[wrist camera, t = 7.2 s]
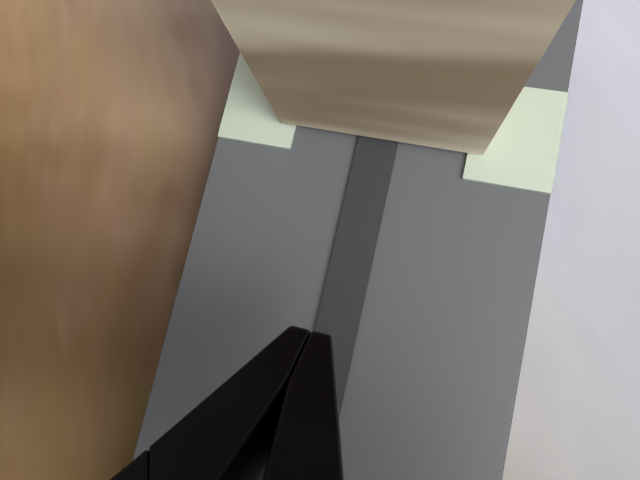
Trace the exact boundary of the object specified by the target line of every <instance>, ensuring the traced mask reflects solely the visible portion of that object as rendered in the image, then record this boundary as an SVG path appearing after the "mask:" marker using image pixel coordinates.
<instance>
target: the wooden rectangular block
mask: <svg viewBox="0 0 640 480" xmlns="http://www.w3.org/2000/svg"><path fill="white" fill-rule="evenodd" d="M575 1H576V0H211V2H212V4H213V5H214V7H215V9H216V11H217V12H218V14H219V16H220V18H221V19H222V21H223V23H224V25H225V26H226V28H227V30H228V32H229V33H230V35H231V37H232V38H233V40H234V42H235V44H236V45H237V47H238V49H239V51H240V52H241V54H242V56H243V58H244V59H245V61H246V63H247V65H248V66H249V68H250V70H251V72H252V73H253V75H254V77H255V79H256V80H257V82H258V84H259V85H260V87H261V89H262V91H263V92H264V94H265V96H266V98H267V99H268V101H269V103H270V105H271V106H272V108H273V110H274V112H275V113H276V115H277V117H278V119H279V120H280V122H281V123H285V124H291V125H297V126H304V127H310V128H316V129H322V130H328V131H335V132H341V133H347V134H353V135H359V136H366V137H372V138H378V139H384V140H390V141H397V142H403V143H409V144H415V145H422V146H428V147H434V148H440V149H446V150H453V151H459V152H465V153H471V154H477V155H483V154H484V153H485V151H486V149H487V148H488V146H489V144H490V143H491V141H492V139H493V138H494V136H495V134H496V133H497V131H498V129H499V128H500V126H501V124H502V123H503V121H504V119H505V118H506V116H507V114H508V113H509V111H510V109H511V108H512V106H513V104H514V103H515V101H516V99H517V98H518V96H519V94H520V93H521V91H522V89H523V88H524V86H525V84H526V83H527V81H528V79H529V78H530V76H531V74H532V73H533V71H534V69H535V68H536V66H537V64H538V63H539V61H540V59H541V58H542V56H543V54H544V53H545V51H546V49H547V48H548V46H549V44H550V43H551V41H552V39H553V38H554V36H555V34H556V33H557V31H558V29H559V27H560V26H561V24H562V22H563V21H564V19H565V17H566V16H567V14H568V12H569V11H570V9H571V7H572V6H573V4H574V2H575Z"/></svg>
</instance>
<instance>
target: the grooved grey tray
mask: <svg viewBox="0 0 640 480" xmlns="http://www.w3.org/2000/svg"><path fill="white" fill-rule="evenodd" d="M582 4H583V0H576V1H575V2H574V4H573V6H572V7H571V9H570V11H569V12H568V14H567V16H566V17H565V19H564V21H563V22H562V24H561V26H560V27H559V29H558V31H557V33H556V34H555V36H554V38H553V39H552V41H551V43H550V44H549V46H548V48H547V49H546V51H545V53H544V54H543V56H542V58H541V59H540V61H539V63H538V64H537V66H536V68H535V69H534V71H533V73H532V74H531V76H530V78H529V79H528V81H527V83H526V84H525V86H524V88H523V89H522V91H521V93H520V94H519V96H518V98H517V99H516V101H515V103H514V104H513V106H512V108H511V109H510V111H509V113H508V114H507V116H506V118H505V119H504V121H503V123H502V124H501V126H500V128H499V129H498V131H497V133H496V134H495V136H494V138H493V139H492V141H491V143H490V144H489V146H488V148H487V149H486V151H485V153H484V154H483V155H477V154H471V153H465V152H459V151H453V150H446V149H440V148H434V147H428V146H422V145H415V144H409V143H403V142H397V141H390V140H384V139H378V138H372V137H366V136H359V135H353V134H347V133H341V132H335V131H328V130H322V129H316V128H310V127H304V126H297V125H291V124H285V123H281V122H280V120H279V119H278V117H277V115H276V113H275V112H274V110H273V108H272V106H271V105H270V103H269V101H268V99H267V98H266V96H265V94H264V92H263V91H262V89H261V87H260V85H259V84H258V82H257V80H256V79H255V77H254V75H253V73H252V72H251V70H250V68H249V66H248V65H247V63H246V61H245V59H244V58H243V56H242V54H241V52H240V53H239V57H238V61H237V65H236V68H235V72H234V76H233V80H232V83H231V87H230V91H229V95H228V98H227V102H226V106H225V110H224V113H223V117H222V121H221V125H220V128H219V132H218V137H219V138H218V142H217V145H216V149H215V153H214V157H213V160H212V164H211V168H210V172H209V175H208V179H207V183H206V187H205V190H204V194H203V198H202V202H201V205H200V209H199V213H198V217H197V220H196V224H195V228H194V232H193V235H192V239H191V243H190V247H189V250H188V254H187V258H186V262H185V266H184V269H183V273H182V277H181V281H180V284H179V288H178V292H177V296H176V299H175V303H174V307H173V311H172V314H171V318H170V322H169V326H168V329H167V333H166V337H165V341H164V344H163V348H162V352H161V356H160V359H159V363H158V367H157V371H156V374H155V378H154V382H153V386H152V389H151V393H150V397H149V401H148V405H147V408H146V412H145V416H144V420H143V423H142V427H141V431H140V435H139V438H138V442H137V446H136V450H135V453H134V457H133V460H134V459H135V458H136V457H138V456H139V455H140V454H141V453H142V452H143V451H145V450H148V451H149V447H150V446H151V445H152V444H153V443H154V442H155V441H157V440H158V439H159V438H160V437H161V436H162V435H164V434H165V433H166V432H167V431H168V430H169V429H171V428H172V427H173V426H174V425H175V424H176V423H177V422H179V421H180V420H181V419H182V418H183V417H184V416H186V415H187V414H188V413H189V412H190V411H191V410H193V409H194V408H195V407H196V406H197V405H198V404H200V403H201V402H202V401H203V400H204V399H205V398H207V397H208V396H209V395H210V394H211V393H212V392H214V391H215V390H216V389H217V388H218V387H219V386H221V385H222V384H223V383H224V382H225V381H226V380H228V379H229V378H230V377H231V376H232V375H233V374H234V373H236V372H237V371H238V370H239V369H240V368H241V367H243V366H244V365H245V364H246V363H247V362H248V361H250V360H251V359H252V358H253V357H254V356H255V355H257V354H258V353H259V352H260V351H261V350H262V349H264V348H265V347H266V346H267V345H268V344H269V343H271V342H272V341H273V340H274V339H275V338H276V337H278V336H279V335H280V334H281V333H282V332H283V331H285V330H286V329H287V328H288V327H290V326H297V327H301V328H305V329H308V330H309V331H310V332H312V331H317V332H321V333H325V334H329V335H330V336H331V337H332V344H333V356H334V367H335V379H336V390H337V402H338V414H339V425H340V437H341V449H342V460H343V472H344V480H502V476H503V470H504V464H505V458H506V452H507V446H508V441H509V435H510V429H511V423H512V417H513V411H514V405H515V399H516V393H517V387H518V381H519V376H520V370H521V364H522V358H523V352H524V346H525V340H526V334H527V328H528V322H529V317H530V311H531V305H532V299H533V293H534V287H535V281H536V275H537V269H538V263H539V257H540V252H541V246H542V240H543V234H544V228H545V222H546V216H547V210H548V204H549V198H550V194H551V193H552V187H553V181H554V175H555V170H556V164H557V158H558V152H559V146H560V140H561V134H562V128H563V122H564V116H565V110H566V104H567V99H568V93H569V92H568V86H569V80H570V74H571V69H572V63H573V57H574V51H575V45H576V39H577V33H578V27H579V21H580V15H581V9H582Z"/></svg>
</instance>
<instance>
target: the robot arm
mask: <svg viewBox="0 0 640 480" xmlns="http://www.w3.org/2000/svg"><path fill="white" fill-rule="evenodd" d="M110 480H344V472H343V460H342V449H341V437H340V425H339V414H338V402H337V390H336V379H335V367H334V356H333V344H332V337H331V336H330V335H329V334H325V333H321V332H317V331H312V332H310V331H309V330H308V329H305V328H301V327H297V326H290V327H288V328H287V329H286V330H285V331H283V332H282V333H281V334H280V335H279V336H278V337H276V338H275V339H274V340H273V341H272V342H271V343H269V344H268V345H267V346H266V347H265V348H264V349H262V350H261V351H260V352H259V353H258V354H257V355H255V356H254V357H253V358H252V359H251V360H250V361H248V362H247V363H246V364H245V365H244V366H243V367H241V368H240V369H239V370H238V371H237V372H236V373H234V374H233V375H232V376H231V377H230V378H229V379H228V380H226V381H225V382H224V383H223V384H222V385H221V386H219V387H218V388H217V389H216V390H215V391H214V392H212V393H211V394H210V395H209V396H208V397H207V398H205V399H204V400H203V401H202V402H201V403H200V404H198V405H197V406H196V407H195V408H194V409H193V410H191V411H190V412H189V413H188V414H187V415H186V416H184V417H183V418H182V419H181V420H180V421H179V422H177V423H176V424H175V425H174V426H173V427H172V428H171V429H169V430H168V431H167V432H166V433H165V434H164V435H162V436H161V437H160V438H159V439H158V440H157V441H155V442H154V443H153V444H152V445H151V446H150V447H149V451H148V450H145V451H143V452H142V453H141V454H140V455H139V456H138V457H136V458H135V459H134V460H133V461H132V462H131V463H130V464H128V465H127V466H126V467H125V468H124V469H122V470H121V471H120V472H119V473H118V474H116V475H115V476H114V477H113V478H111V479H110Z"/></svg>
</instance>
